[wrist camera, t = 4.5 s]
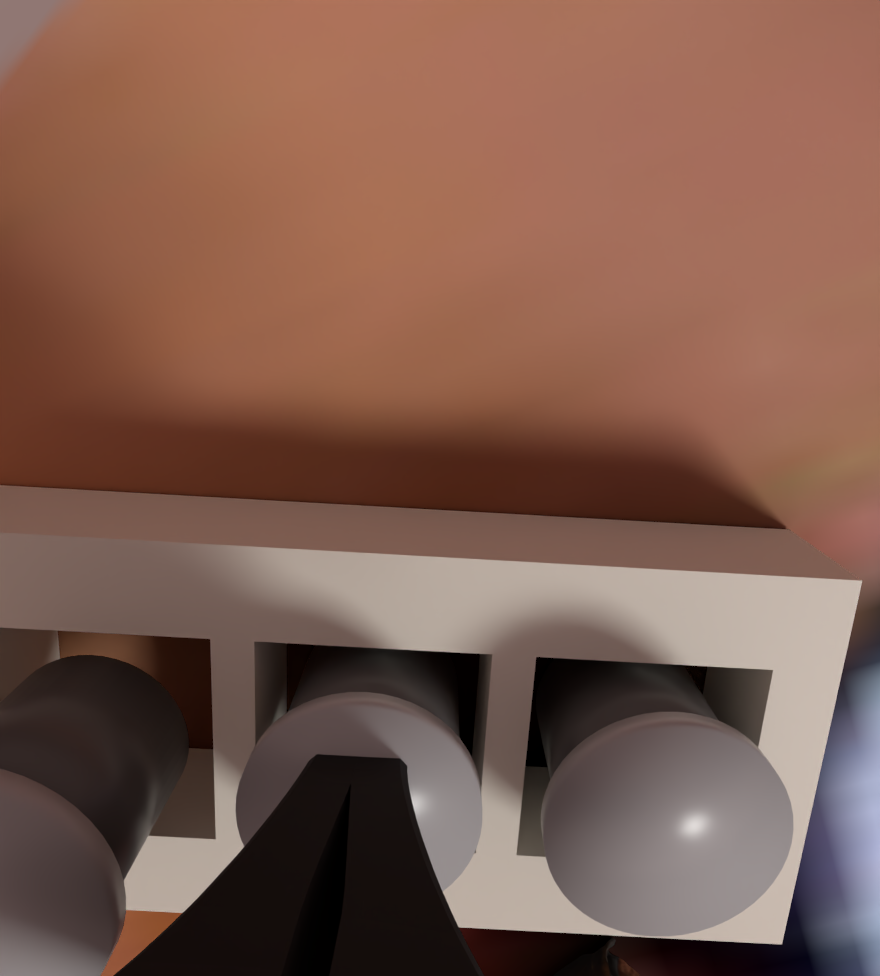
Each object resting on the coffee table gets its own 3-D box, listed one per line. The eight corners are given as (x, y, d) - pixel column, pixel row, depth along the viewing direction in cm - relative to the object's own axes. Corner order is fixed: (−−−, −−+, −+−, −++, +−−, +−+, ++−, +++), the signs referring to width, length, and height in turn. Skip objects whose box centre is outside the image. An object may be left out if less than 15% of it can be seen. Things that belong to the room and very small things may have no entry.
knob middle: (480, 606, 14) (491, 713, 10) (467, 772, 15) (473, 923, 11) (287, 595, 14) (233, 699, 10) (287, 763, 15) (237, 910, 11)
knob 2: (721, 621, 14) (815, 734, 10) (693, 787, 15) (769, 942, 11) (528, 611, 14) (556, 720, 10) (513, 777, 15) (533, 929, 11)
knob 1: (204, 644, 12) (102, 794, 8) (209, 834, 13) (120, 1040, 9) (-23, 632, 12) (-221, 776, 8) (0, 822, 13) (-169, 1024, 9)
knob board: (789, 529, 14) (862, 580, 11) (730, 843, 16) (782, 944, 13) (-15, 484, 14) (-113, 526, 11) (20, 805, 16) (-58, 900, 13)
